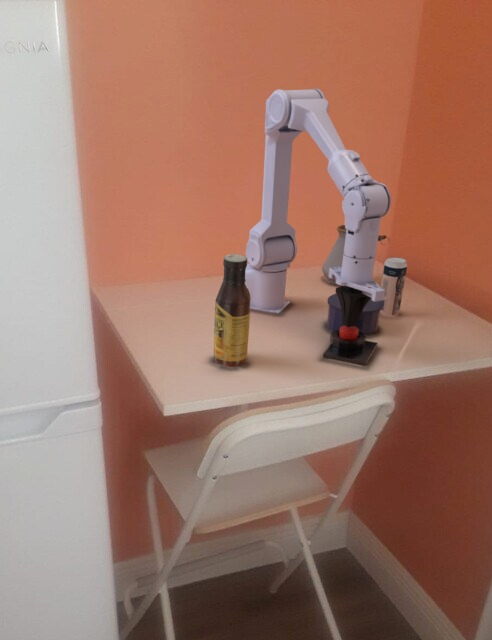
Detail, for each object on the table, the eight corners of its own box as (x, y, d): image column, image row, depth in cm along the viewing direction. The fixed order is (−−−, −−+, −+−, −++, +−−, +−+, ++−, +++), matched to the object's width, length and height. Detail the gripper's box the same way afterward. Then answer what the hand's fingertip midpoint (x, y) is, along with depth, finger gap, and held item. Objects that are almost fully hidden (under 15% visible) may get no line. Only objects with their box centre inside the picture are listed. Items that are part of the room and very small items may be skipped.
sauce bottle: (211, 355, 132) (214, 250, 122) (244, 355, 132) (250, 250, 122) (214, 370, 126) (218, 262, 116) (249, 370, 127) (255, 262, 117)
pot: (320, 332, 143) (323, 307, 140) (334, 316, 151) (337, 292, 148) (370, 341, 139) (374, 316, 137) (381, 324, 148) (385, 300, 145)
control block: (364, 368, 129) (367, 353, 127) (320, 359, 131) (321, 345, 130) (377, 348, 137) (379, 334, 135) (334, 340, 140) (336, 326, 138)
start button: (355, 342, 133) (356, 333, 132) (336, 338, 134) (337, 330, 133) (359, 335, 135) (361, 327, 135) (341, 332, 137) (342, 323, 136)
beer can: (399, 319, 151) (408, 264, 145) (376, 316, 151) (385, 262, 145) (398, 311, 155) (407, 257, 149) (376, 309, 155) (384, 255, 149)
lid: (320, 310, 140) (322, 289, 138) (335, 294, 149) (337, 273, 147) (375, 320, 136) (379, 298, 134) (387, 302, 145) (391, 281, 143)
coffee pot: (312, 275, 175) (319, 214, 167) (353, 272, 178) (361, 211, 170) (354, 304, 158) (363, 238, 150) (398, 300, 161) (409, 234, 153)
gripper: (318, 246, 130) (311, 315, 137) (365, 268, 119) (355, 342, 126) (349, 242, 133) (340, 310, 140) (398, 264, 122) (386, 336, 129)
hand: (349, 325), depth 133 cm, fingers closed
